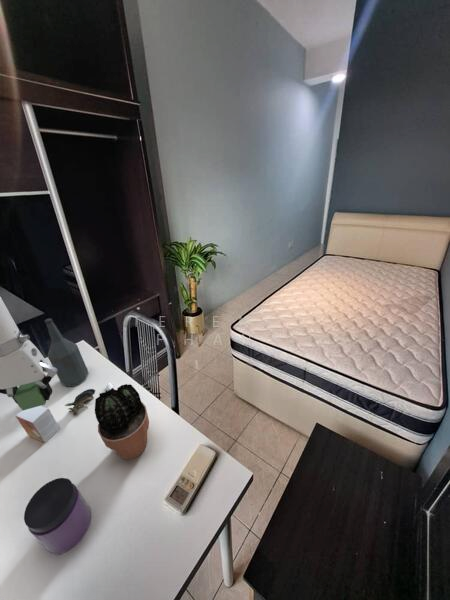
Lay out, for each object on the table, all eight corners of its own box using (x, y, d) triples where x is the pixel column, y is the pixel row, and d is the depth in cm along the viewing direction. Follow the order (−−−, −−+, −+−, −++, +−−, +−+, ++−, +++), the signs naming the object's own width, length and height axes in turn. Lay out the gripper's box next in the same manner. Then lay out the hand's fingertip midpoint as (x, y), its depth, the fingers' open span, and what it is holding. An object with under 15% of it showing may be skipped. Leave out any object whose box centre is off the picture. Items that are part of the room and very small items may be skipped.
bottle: (85, 366, 111) (60, 309, 97) (92, 377, 105) (66, 318, 91) (59, 378, 105) (29, 320, 91) (65, 391, 99) (33, 330, 85)
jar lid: (21, 541, 51) (15, 536, 50) (36, 491, 59) (32, 486, 58) (71, 522, 53) (67, 517, 52) (80, 477, 61) (77, 471, 60)
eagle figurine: (86, 416, 87) (101, 393, 94) (68, 406, 84) (85, 382, 91) (76, 418, 91) (91, 396, 98) (59, 409, 88) (76, 386, 95)
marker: (105, 386, 100) (104, 381, 99) (111, 383, 102) (109, 379, 100) (121, 414, 88) (120, 410, 87) (127, 411, 89) (125, 406, 88)
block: (22, 410, 62) (13, 397, 59) (29, 395, 66) (21, 382, 63) (45, 404, 63) (36, 390, 61) (50, 390, 67) (43, 376, 65)
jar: (39, 562, 55) (15, 540, 50) (52, 510, 64) (33, 486, 58) (88, 543, 58) (70, 520, 52) (94, 495, 66) (79, 471, 61)
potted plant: (156, 459, 74) (137, 402, 62) (107, 475, 71) (78, 418, 59) (154, 420, 85) (138, 366, 74) (112, 432, 82) (89, 378, 70)
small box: (28, 436, 83) (14, 415, 78) (44, 421, 87) (31, 401, 82) (45, 443, 80) (31, 423, 75) (60, 428, 85) (48, 407, 80)
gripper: (49, 327, 61) (75, 380, 70) (-34, 344, 57) (4, 398, 65) (40, 344, 55) (69, 400, 63) (-55, 365, 50) (-9, 422, 59)
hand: (36, 398), depth 64 cm, fingers closed on block, 5 cm apart
